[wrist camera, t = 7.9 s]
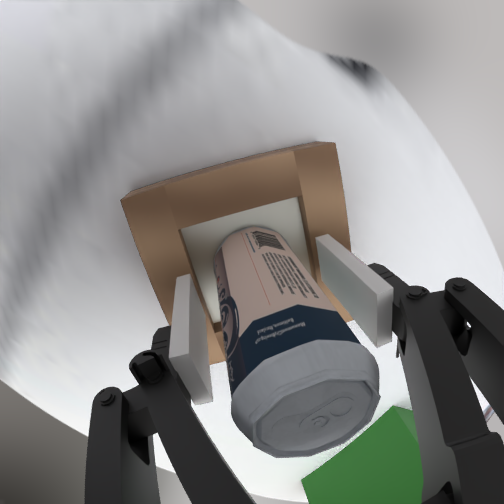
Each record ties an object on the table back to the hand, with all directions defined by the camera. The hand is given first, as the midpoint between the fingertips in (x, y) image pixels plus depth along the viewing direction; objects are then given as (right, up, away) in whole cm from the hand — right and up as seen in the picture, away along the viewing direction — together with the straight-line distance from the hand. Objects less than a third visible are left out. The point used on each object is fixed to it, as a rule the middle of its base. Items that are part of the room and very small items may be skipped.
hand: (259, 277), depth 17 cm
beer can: (0, +1, +2) cm, 2 cm away
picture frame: (-1, +1, +4) cm, 4 cm away
